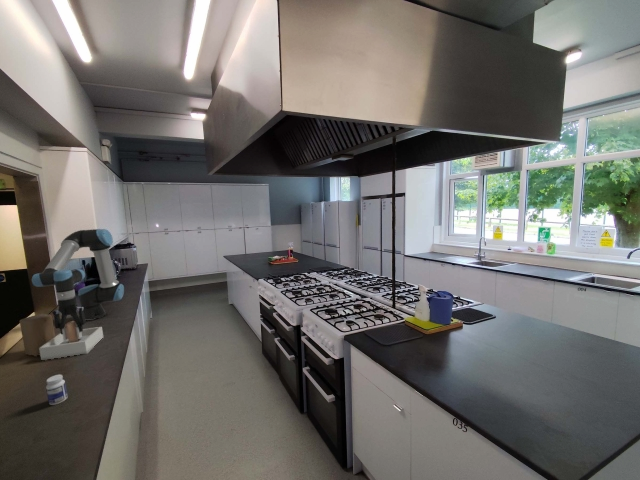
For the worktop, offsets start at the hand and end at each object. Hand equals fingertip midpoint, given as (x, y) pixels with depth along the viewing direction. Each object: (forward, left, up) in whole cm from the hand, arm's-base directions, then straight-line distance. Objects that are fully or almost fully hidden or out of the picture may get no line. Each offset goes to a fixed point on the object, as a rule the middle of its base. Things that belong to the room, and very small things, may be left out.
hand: (73, 338), depth 160 cm
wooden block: (-3, -17, -6) cm, 18 cm away
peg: (0, 0, -5) cm, 5 cm away
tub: (0, 0, -6) cm, 6 cm away
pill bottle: (+52, +18, -6) cm, 55 cm away
